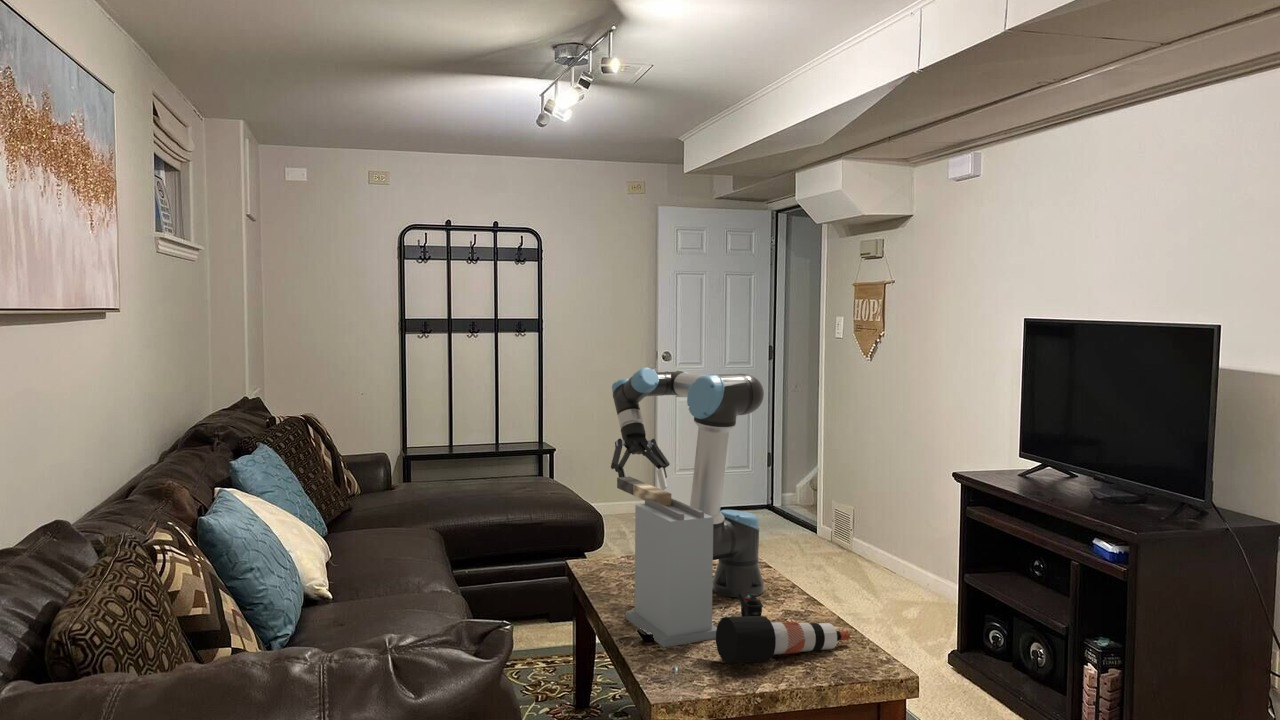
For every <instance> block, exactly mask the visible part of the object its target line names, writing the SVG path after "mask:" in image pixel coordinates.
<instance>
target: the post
mask: <svg viewBox="0 0 1280 720" xmlns="http://www.w3.org/2000/svg"><path fill="white" fill-rule="evenodd" d="M634 516H635V518H634V519H635V520H634V522H635V525H634V527H635V528H634V531H635V532H634V535H635V537H634V609H632V610H626V611H625V620H627V621H628V622H629V623H631V624H633V625H634V626H635V627H636V628H638V629H639V630H640V628H641V629H645V630H647V631H649V632H651V633H652V634H653V638H654V642H656V643H657V644H659V645H660V646H661V647H662V648H669V647H675V646H680V645H686V644H691V643H698V642H703V641H708V640H709V641H710V640H716V630H717V626H716V625H714V624H713V590H712V581H713V578H714V574H713V570H714V567H713V565H714V563H713V562H714V560H713V517H712V516H710V515H707V514H705V513H704V512H703V511H700V510H698V509H696V508H693V507H691V506H690V504H687V503H684V502H681V501H679V500H677V499H674V498H672V497H671V505H667V506H665V505H663V504H660V503H658V502H656V501H654V500H651V499H649V498H645V500H644V503H643V504H642V503H641V504H635V515H634Z"/></svg>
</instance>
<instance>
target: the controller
mask: <svg viewBox="0 0 1280 720" xmlns="http://www.w3.org/2000/svg"><path fill="white" fill-rule="evenodd" d="M758 596H759V595H757V594H756V593H752V592H740V593H739V596H738V597H737V599H738V600H739V603H740V610H741V612H740V614H741V617H746V616H762V613H763V603H762V601H761V600H760V599H757V597H758Z"/></svg>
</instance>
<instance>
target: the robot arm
mask: <svg viewBox="0 0 1280 720" xmlns="http://www.w3.org/2000/svg"><path fill="white" fill-rule="evenodd" d="M611 390H612V398H613V399H612V400H613V402H614V406H615V410H616V415H617V419H618V424H619V428H620V433H621V438H618V439H617V440H616V441H614V447H615V449H614V452H613V457H612V460H611V463H610V464H611V465H610V469H612V470H614V471H615V472H616V473H617V475H618V477H629V476H628V472H627V468H625V465H626V463H627V461H628V459H629V458H630V456H631V454H632V455H642V456H643V457H646V458H647V460H649V462H650V463H652V464H653V466H655V467H656V468H657V470H656V473H657V478H658V482H659V487H660V489H661V490H664V491H665V489H667V488H668V483H667V482H668V481H667V477H668V475H667V472H666V469H667V467H669V466H670V464H671V463H670V462H669V460H668V459H667V457H666V456H665V455H664V453H663V452H662V451H661V449H660V447H659V446H658V443H657V441H656V439H655V438H652V439H651V440H648V439H647V438H646V435H647V433H646V430H645V425H644V424H643V423H644V421H643V415H642V412H641V409H640V404H639V403H640V402H641V401H643V400H644V399H645V398H646V397H657V396H658V397H659V396H660V397H662V396H676V397H686V403H687V407H688V411H689V413H690V415H692V416H693V421H694V424H695V425H696V426H697V427H698V429H697V439H696V440H697V441H696V447H695V448H696V449H695V458H694V465H693V466H694V467H693V473H692V474H693V475H692V484H691V485H692V486H691V494H690V495H691V496H690V503H689V506H691V507H693V508H696V509H698V510H700V511H703V512H704V513H705V514H707V515H710V516H712V517H713V561H717V560H718V563H717V566H716V569H715V573H714V574H713V580H712V592H715V593H716V594H718V595H721V596H724V597H729V598H738V596H739V593H740V592H752V593H756V594H757V595H758V596H760V595H762V594H763V593H764V591H765V583H764V579H763V576H762V573H761V570H760V566H759V550H760V549H759V547H760V543H759V542H760V541H759V540H760V528H759V527H760V526H759V525H760V524H759V523H760V522H759V518H758V516H757V515H756V514H754V513H751V512H748V511H744V510H742V511H741V510H737V509H721V508H722V507H721V506H722V496H723V490H724V481H725V479H724V478H725V471H726V461H727V453H728V446H729V444H728V443H729V437H730V436H729V435H730V431H731V430H732V429H733V428H735V427H736V423H737V416H745V415H749V414H752V413H754V412H755V411H756V410H757V409H759V407H760V406H762V403H763V401H764V395H765V393H764V387H763V385H762V383H761V381H760V380H758V378H757V377H755V376H753V375H751V374H748V373H747V374H746V373H729V374H723V373H722V374H714V373H712V374H709V375H708V374H699V373H690V372H688V371H682V370H676V371H665V372H664V371H662V372H661V371H655V369H653V368H650V367H646V366H645V367H642V368H640V369H638V370H637V371H636V372H635V373H633V374H632V376H631V377H630V378H621V379H618V380H617V381H615V382H613V383H612V386H611ZM623 447H624V448H625V451H624V452H623V453H624V454H623V455H622V457H621V453H622V450H623Z"/></svg>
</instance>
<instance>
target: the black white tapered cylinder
mask: <svg viewBox="0 0 1280 720" xmlns="http://www.w3.org/2000/svg"><path fill="white" fill-rule="evenodd" d="M716 627H717V630H716V638H715V643H716V645H715V646H716V649H717V650H716V651H717V652H718V655H719V657H720V659H721V661H723V663H726V664H731V663H732V664H735V663H750V662H751V663H755V662H769V661H770V660H771V659H772V657H773V656H775V655H781V656H782V655H788V654H800V653H801V652H811V651H821V650H822V651H824V650H826V651H827V650H834V648H835V647H836V646H837V643H838V642H839V641H849V640H850V639H851V633H850V632H849V631H848V630H837V629H836V628H835V626H834V625H833V624H832V623H830V622H827V623H826V622H823V623H817V622H797V621H786V622H785V621H782V622H781V621H776V622H774V621H771V620H770V619H769V618H768V617H767V616H763V615H761V616H746V617H742V616H724V617H721V619H720V620H719V621H718V624H717V626H716Z"/></svg>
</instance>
